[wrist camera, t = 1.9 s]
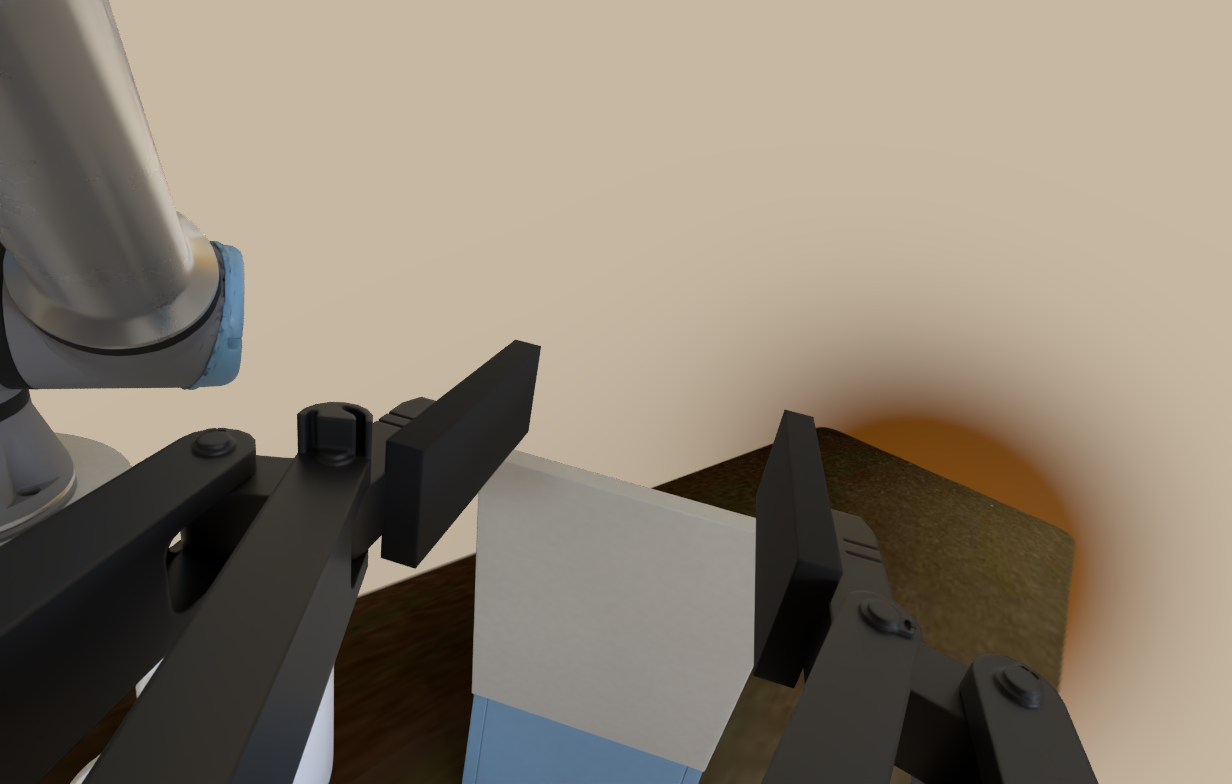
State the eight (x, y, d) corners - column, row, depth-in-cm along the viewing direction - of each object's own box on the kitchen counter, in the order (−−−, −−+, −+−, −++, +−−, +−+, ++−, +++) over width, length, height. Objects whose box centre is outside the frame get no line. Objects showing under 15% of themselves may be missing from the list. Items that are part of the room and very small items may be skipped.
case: (544, 611, 51) (560, 529, 47) (694, 658, 49) (721, 577, 46) (460, 791, 36) (473, 692, 33) (667, 866, 35) (703, 770, 32)
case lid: (487, 441, 24) (478, 453, 24) (808, 532, 23) (808, 548, 22) (477, 679, 33) (471, 693, 33) (706, 756, 32) (704, 772, 31)
